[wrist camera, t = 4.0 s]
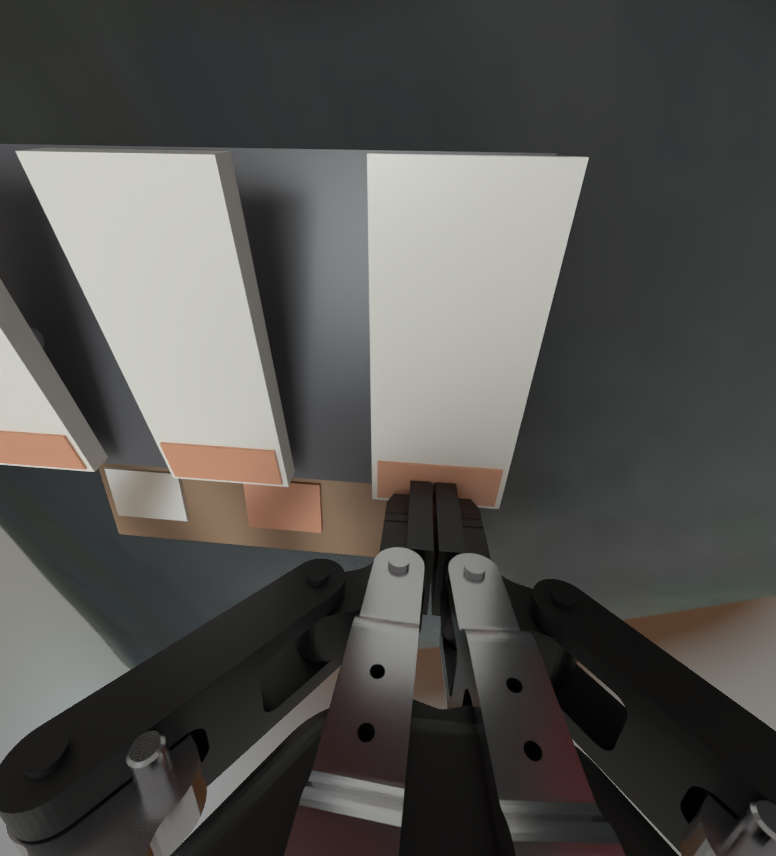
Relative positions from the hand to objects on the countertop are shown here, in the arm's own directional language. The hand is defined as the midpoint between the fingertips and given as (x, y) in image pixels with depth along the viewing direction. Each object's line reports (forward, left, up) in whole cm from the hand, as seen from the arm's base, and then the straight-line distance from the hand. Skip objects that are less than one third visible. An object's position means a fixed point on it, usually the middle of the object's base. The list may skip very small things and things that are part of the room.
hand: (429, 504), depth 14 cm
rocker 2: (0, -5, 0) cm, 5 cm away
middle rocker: (+7, -5, 0) cm, 9 cm away
